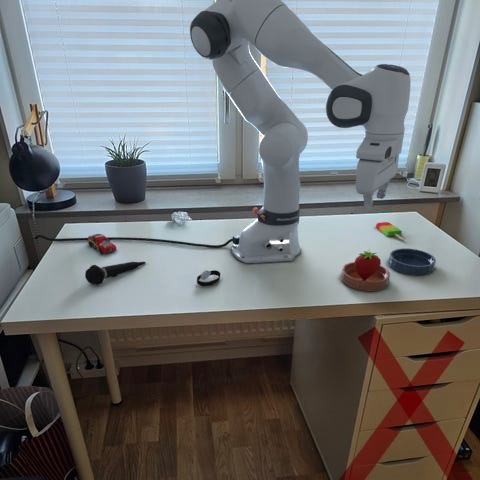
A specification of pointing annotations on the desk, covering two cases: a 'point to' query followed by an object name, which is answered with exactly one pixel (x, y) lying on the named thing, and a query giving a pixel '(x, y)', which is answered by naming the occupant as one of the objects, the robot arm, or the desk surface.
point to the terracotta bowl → (371, 283)
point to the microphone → (109, 271)
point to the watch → (205, 275)
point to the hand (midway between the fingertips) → (374, 202)
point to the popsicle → (389, 229)
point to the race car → (101, 244)
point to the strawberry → (367, 264)
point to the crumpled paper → (180, 217)
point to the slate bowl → (412, 261)
